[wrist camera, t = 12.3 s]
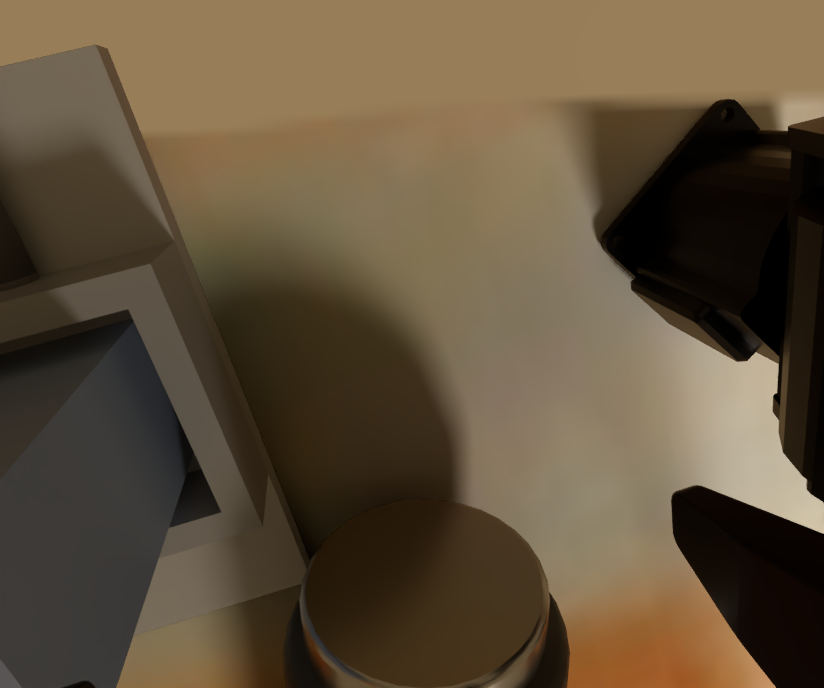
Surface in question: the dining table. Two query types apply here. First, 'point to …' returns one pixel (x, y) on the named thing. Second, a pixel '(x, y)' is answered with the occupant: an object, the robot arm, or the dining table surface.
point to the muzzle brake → (425, 605)
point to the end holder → (135, 319)
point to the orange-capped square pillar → (81, 502)
